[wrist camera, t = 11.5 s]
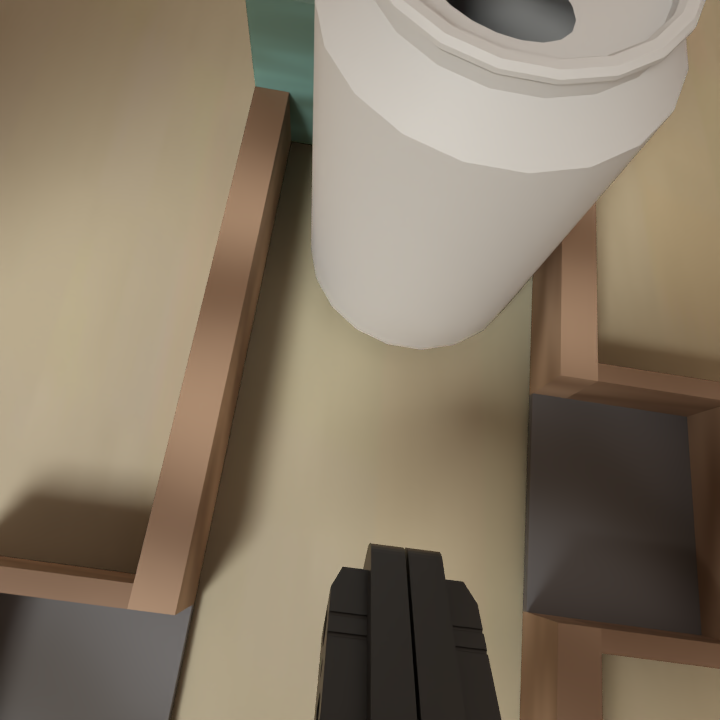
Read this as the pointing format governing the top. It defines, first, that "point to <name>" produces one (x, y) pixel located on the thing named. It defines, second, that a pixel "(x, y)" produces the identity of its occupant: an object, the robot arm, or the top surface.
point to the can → (473, 145)
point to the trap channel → (543, 496)
